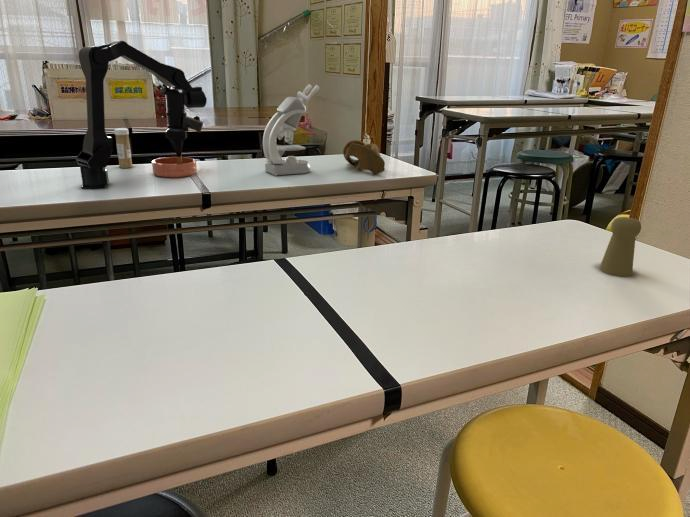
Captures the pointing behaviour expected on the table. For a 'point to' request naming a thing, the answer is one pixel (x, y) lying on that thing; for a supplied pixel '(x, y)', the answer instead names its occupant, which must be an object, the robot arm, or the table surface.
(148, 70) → the robot arm
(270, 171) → the microscope
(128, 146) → the sprinkles bottle
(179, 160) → the wooden post on base
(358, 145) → the brown looped sculpture
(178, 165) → the bowl
